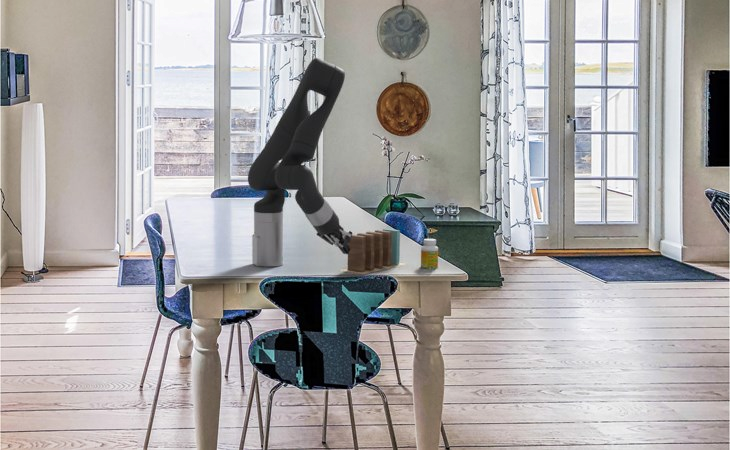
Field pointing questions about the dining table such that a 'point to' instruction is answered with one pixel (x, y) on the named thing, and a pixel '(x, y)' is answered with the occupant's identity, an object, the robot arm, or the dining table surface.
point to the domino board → (374, 269)
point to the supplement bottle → (429, 254)
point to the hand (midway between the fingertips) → (347, 251)
